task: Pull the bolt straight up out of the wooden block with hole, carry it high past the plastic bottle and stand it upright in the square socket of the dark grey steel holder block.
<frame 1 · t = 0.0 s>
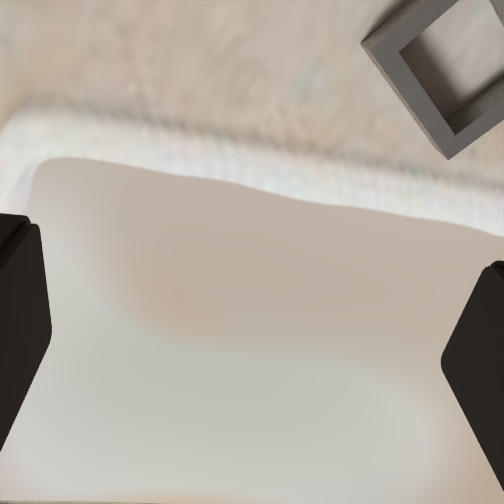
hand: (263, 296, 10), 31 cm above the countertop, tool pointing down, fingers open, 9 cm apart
holder: (455, 53, 37), on the countertop
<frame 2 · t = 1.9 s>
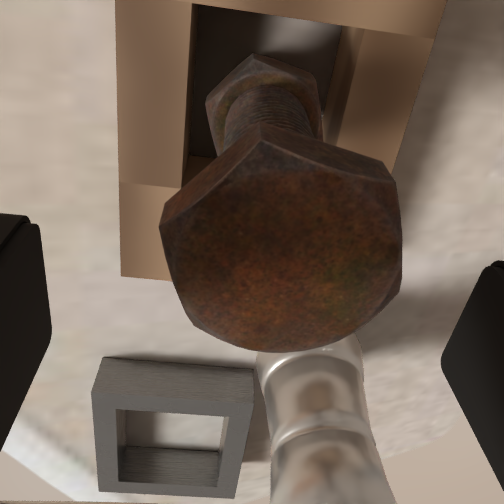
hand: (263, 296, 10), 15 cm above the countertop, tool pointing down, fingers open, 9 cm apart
holder: (175, 415, 36), on the countertop
wooden block with hole: (261, 90, 23), on the countertop
plastic bottle: (303, 329, 32), on the countertop
bolt: (260, 89, 23), resting in wooden block with hole
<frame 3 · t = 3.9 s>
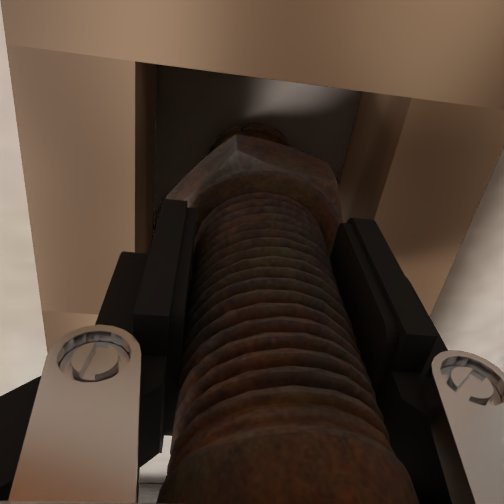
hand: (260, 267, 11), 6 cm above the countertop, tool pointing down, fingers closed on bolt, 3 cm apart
wooden block with hole: (249, 165, 16), on the countertop
bolt: (249, 163, 16), resting in wooden block with hole, touching gripper
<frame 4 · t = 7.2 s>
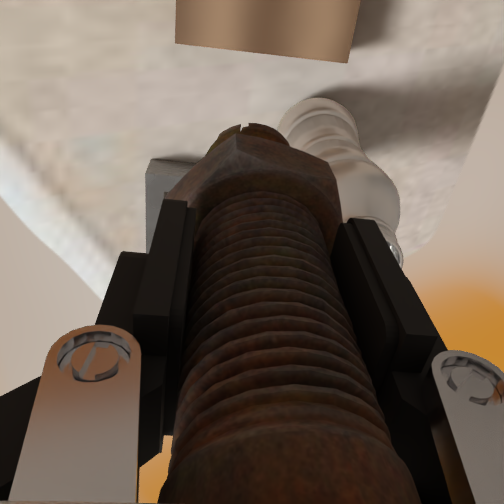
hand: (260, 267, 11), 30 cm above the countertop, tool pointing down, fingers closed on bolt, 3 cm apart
holder: (207, 221, 44), on the countertop
plastic bottle: (311, 129, 40), on the countertop
bolt: (249, 162, 16), point 23 cm above the countertop, touching gripper
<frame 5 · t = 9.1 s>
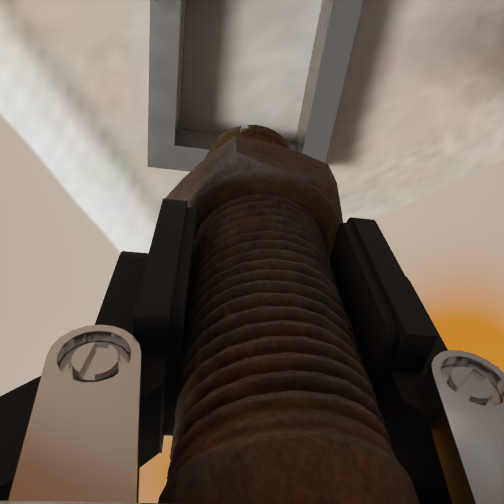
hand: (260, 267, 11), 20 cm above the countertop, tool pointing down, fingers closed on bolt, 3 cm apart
holder: (246, 66, 28), on the countertop
bolt: (248, 164, 16), point 14 cm above the countertop, touching gripper
when the fingers open (8 cm above the countertop, at t = 11.0 s): bolt stays where it is, resting in holder.
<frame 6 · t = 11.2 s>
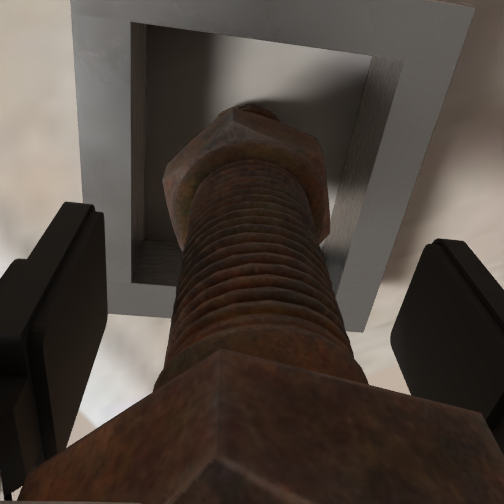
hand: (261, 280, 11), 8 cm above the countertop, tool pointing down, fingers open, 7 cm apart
holder: (247, 151, 17), on the countertop
bolt: (245, 143, 17), resting in holder
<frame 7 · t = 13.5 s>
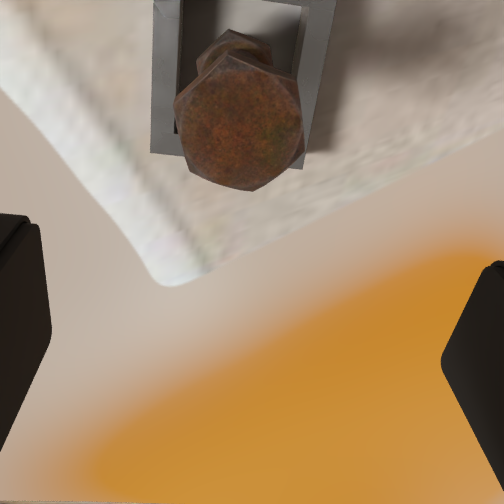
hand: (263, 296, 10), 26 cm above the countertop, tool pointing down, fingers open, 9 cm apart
holder: (236, 64, 32), on the countertop
bolt: (235, 60, 32), resting in holder
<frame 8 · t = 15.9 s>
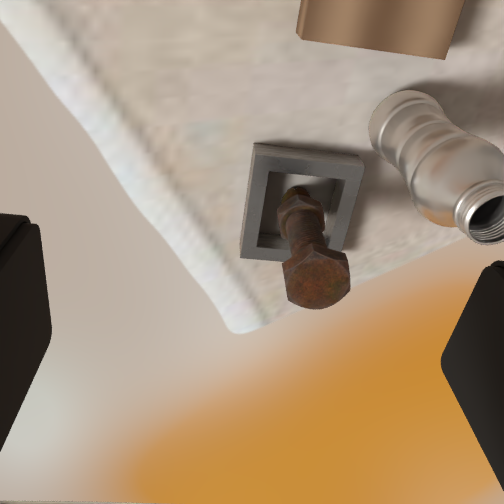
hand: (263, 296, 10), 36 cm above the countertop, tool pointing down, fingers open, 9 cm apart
holder: (295, 201, 49), on the countertop
plastic bottle: (396, 119, 45), on the countertop
bolt: (295, 198, 49), resting in holder
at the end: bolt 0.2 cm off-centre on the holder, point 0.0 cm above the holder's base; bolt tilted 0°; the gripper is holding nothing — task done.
